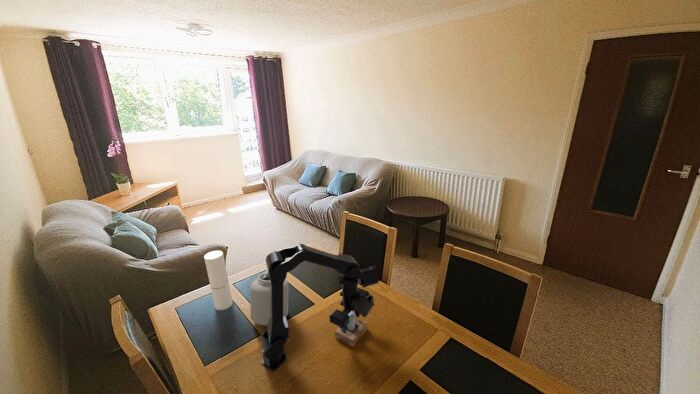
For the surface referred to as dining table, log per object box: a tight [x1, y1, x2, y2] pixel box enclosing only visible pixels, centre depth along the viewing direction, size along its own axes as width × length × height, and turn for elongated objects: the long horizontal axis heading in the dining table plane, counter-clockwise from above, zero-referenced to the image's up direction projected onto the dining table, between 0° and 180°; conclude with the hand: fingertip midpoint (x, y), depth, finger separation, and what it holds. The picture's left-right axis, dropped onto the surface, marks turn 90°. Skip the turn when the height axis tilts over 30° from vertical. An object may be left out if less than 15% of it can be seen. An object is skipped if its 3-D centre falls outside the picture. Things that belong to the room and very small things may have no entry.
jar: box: [249, 269, 289, 326], centre depth 114 cm, size 19×15×25 cm
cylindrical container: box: [203, 250, 233, 311], centre depth 121 cm, size 7×7×25 cm
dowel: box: [347, 311, 356, 333], centre depth 106 cm, size 3×3×9 cm
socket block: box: [334, 316, 368, 347], centre depth 107 cm, size 10×8×3 cm
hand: (351, 324), depth 106 cm, fingers open, 9 cm apart
